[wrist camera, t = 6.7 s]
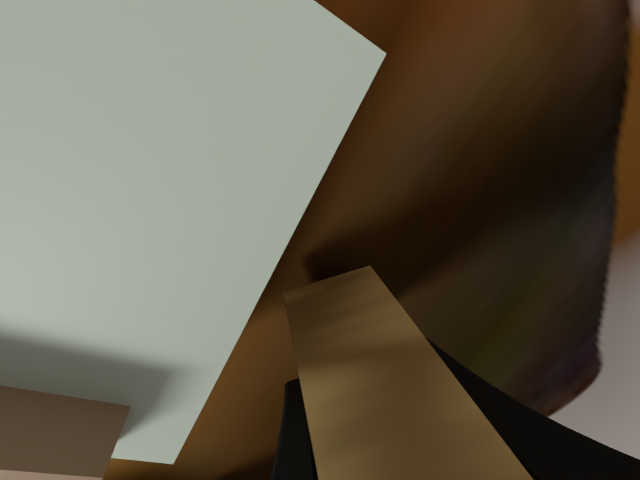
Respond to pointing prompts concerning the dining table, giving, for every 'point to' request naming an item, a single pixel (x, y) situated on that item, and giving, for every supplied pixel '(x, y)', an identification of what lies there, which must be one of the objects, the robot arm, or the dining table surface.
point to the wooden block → (384, 391)
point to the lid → (149, 206)
